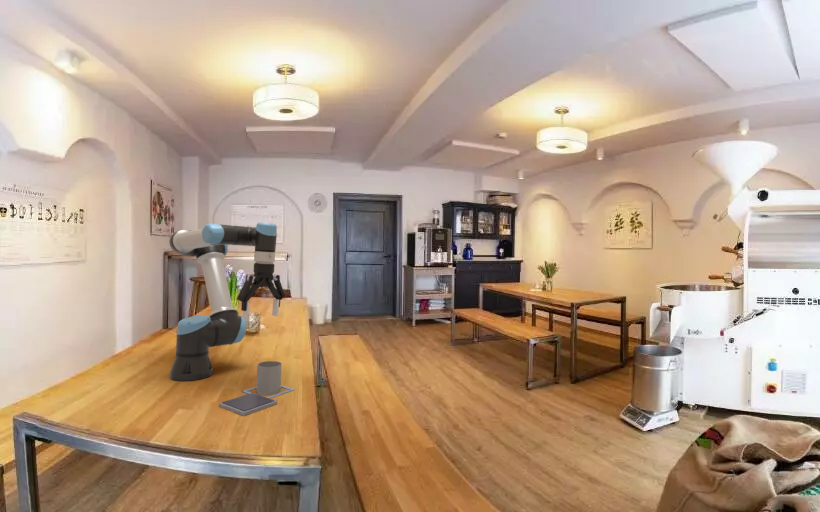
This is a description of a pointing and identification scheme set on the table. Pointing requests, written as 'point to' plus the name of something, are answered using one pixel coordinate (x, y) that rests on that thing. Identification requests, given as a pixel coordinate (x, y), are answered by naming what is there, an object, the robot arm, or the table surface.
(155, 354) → the table surface
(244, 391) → the marked square
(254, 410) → the pad
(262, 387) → the cup
